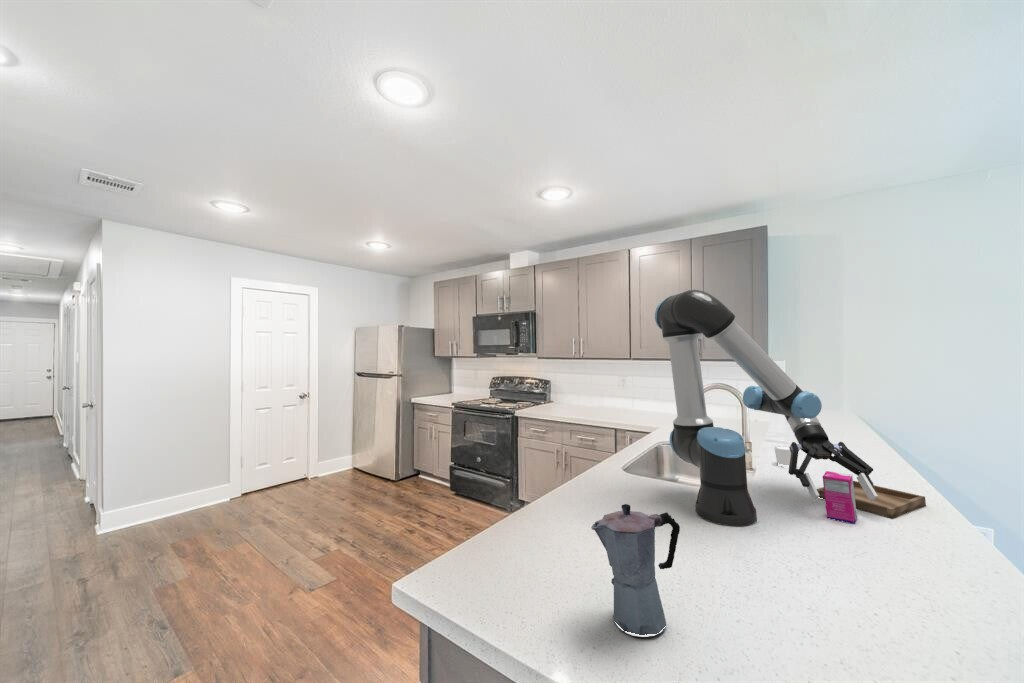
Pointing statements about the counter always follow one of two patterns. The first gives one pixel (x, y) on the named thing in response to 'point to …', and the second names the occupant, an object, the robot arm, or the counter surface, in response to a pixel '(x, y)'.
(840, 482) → the supplement box
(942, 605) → the counter surface
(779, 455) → the shot glass
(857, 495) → the walnut tray
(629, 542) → the moka pot
